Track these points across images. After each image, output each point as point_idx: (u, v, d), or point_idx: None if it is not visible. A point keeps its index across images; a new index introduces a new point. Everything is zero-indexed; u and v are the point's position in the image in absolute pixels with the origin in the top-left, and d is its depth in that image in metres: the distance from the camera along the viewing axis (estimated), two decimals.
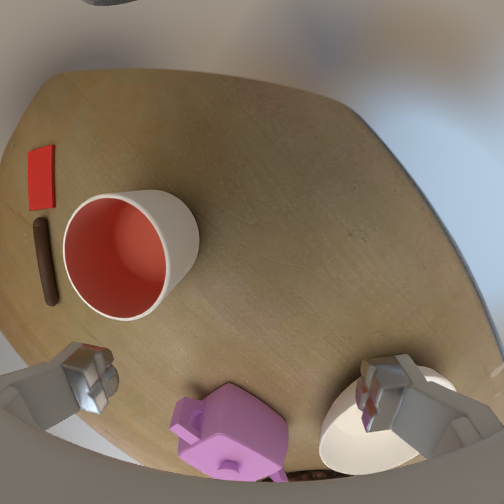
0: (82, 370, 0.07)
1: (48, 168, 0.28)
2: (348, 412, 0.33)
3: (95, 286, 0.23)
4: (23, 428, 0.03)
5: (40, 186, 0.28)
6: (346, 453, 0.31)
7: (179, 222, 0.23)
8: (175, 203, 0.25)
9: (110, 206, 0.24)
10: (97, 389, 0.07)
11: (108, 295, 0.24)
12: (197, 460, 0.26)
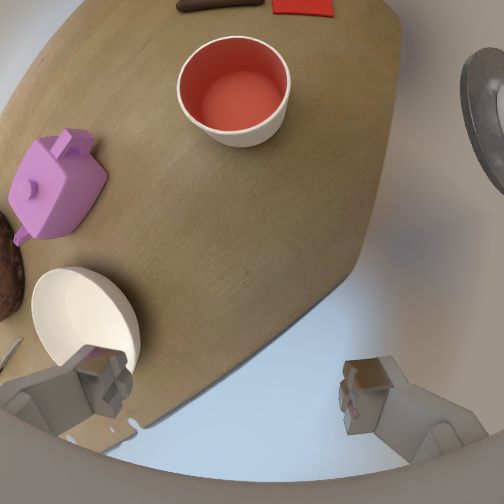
0: (97, 374, 0.07)
1: (311, 10, 0.27)
2: (86, 288, 0.38)
3: (204, 60, 0.23)
4: (23, 428, 0.03)
5: (294, 0, 0.26)
6: (48, 294, 0.34)
7: (260, 136, 0.27)
8: (274, 130, 0.28)
9: (274, 73, 0.26)
10: (112, 393, 0.07)
11: (195, 72, 0.24)
12: (33, 158, 0.25)
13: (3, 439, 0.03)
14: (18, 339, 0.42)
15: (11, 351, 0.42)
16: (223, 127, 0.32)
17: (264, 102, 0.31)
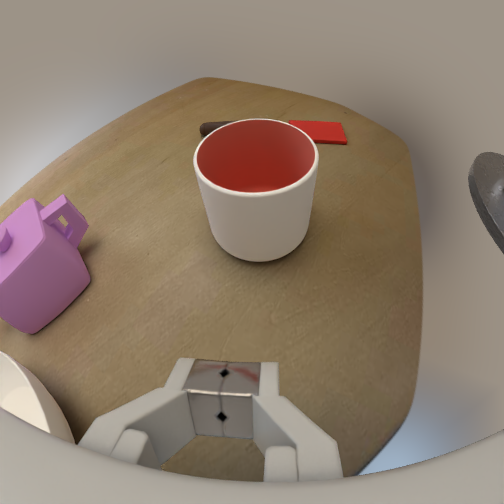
0: (217, 392, 0.06)
1: (325, 137, 0.37)
2: (27, 407, 0.20)
3: (225, 147, 0.26)
4: (23, 428, 0.03)
5: (309, 130, 0.38)
6: None
7: (283, 227, 0.23)
8: (298, 233, 0.25)
9: (296, 175, 0.28)
10: None
11: (214, 158, 0.26)
12: (21, 214, 0.23)
13: (3, 439, 0.03)
14: None
15: None
16: None
17: None
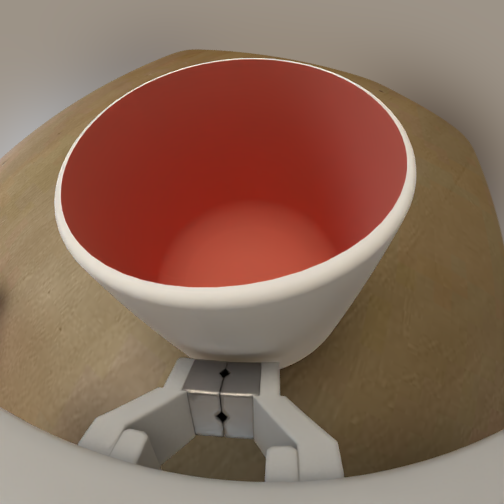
0: (217, 392, 0.06)
1: None
2: None
3: (170, 126, 0.11)
4: (23, 428, 0.03)
5: None
6: None
7: (302, 341, 0.08)
8: (333, 328, 0.10)
9: (327, 186, 0.13)
10: (221, 409, 0.07)
11: (144, 150, 0.11)
12: None
13: (3, 439, 0.03)
14: None
15: None
16: None
17: (298, 271, 0.15)
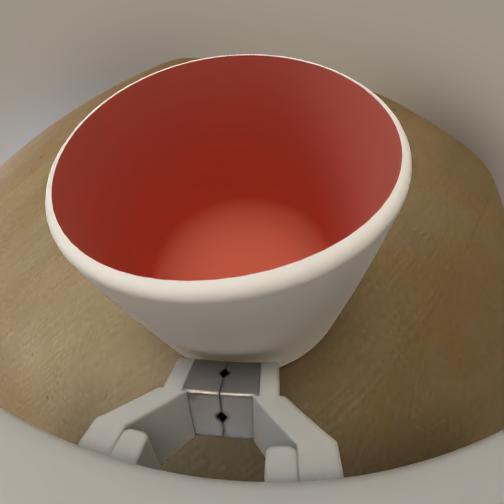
0: (217, 392, 0.06)
1: None
2: None
3: (160, 125, 0.11)
4: (23, 428, 0.03)
5: None
6: None
7: (303, 336, 0.08)
8: (332, 323, 0.10)
9: (320, 180, 0.13)
10: None
11: (135, 150, 0.11)
12: None
13: (3, 439, 0.03)
14: None
15: None
16: None
17: None
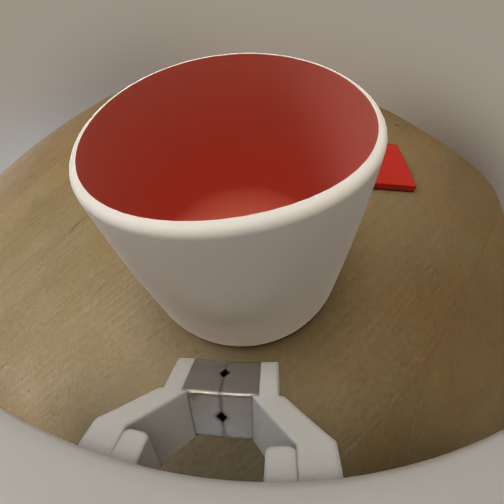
0: (217, 392, 0.06)
1: (378, 177, 0.19)
2: None
3: (166, 116, 0.12)
4: (23, 428, 0.03)
5: None
6: None
7: (298, 296, 0.09)
8: (326, 293, 0.11)
9: (313, 166, 0.14)
10: None
11: (144, 139, 0.12)
12: None
13: (3, 439, 0.03)
14: None
15: None
16: None
17: None
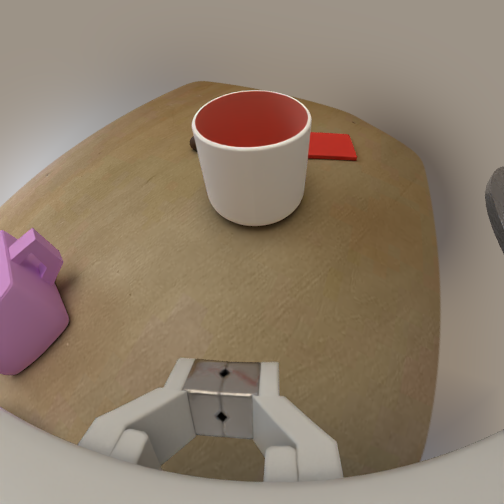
0: (217, 392, 0.06)
1: (332, 152, 0.33)
2: None
3: (221, 118, 0.26)
4: (23, 428, 0.03)
5: (315, 143, 0.34)
6: None
7: (280, 185, 0.23)
8: (295, 194, 0.26)
9: None
10: None
11: (211, 128, 0.26)
12: None
13: (3, 439, 0.03)
14: None
15: None
16: None
17: None
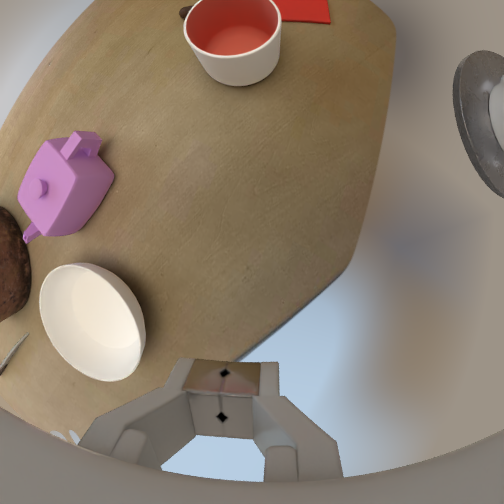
0: (217, 392, 0.06)
1: (308, 17, 0.29)
2: (93, 284, 0.40)
3: (206, 11, 0.23)
4: (23, 428, 0.03)
5: (292, 8, 0.28)
6: (56, 290, 0.36)
7: (257, 67, 0.27)
8: (270, 66, 0.28)
9: (267, 22, 0.26)
10: None
11: (198, 20, 0.24)
12: (44, 159, 0.27)
13: (3, 439, 0.03)
14: (24, 335, 0.44)
15: (16, 347, 0.44)
16: None
17: None
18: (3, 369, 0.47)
